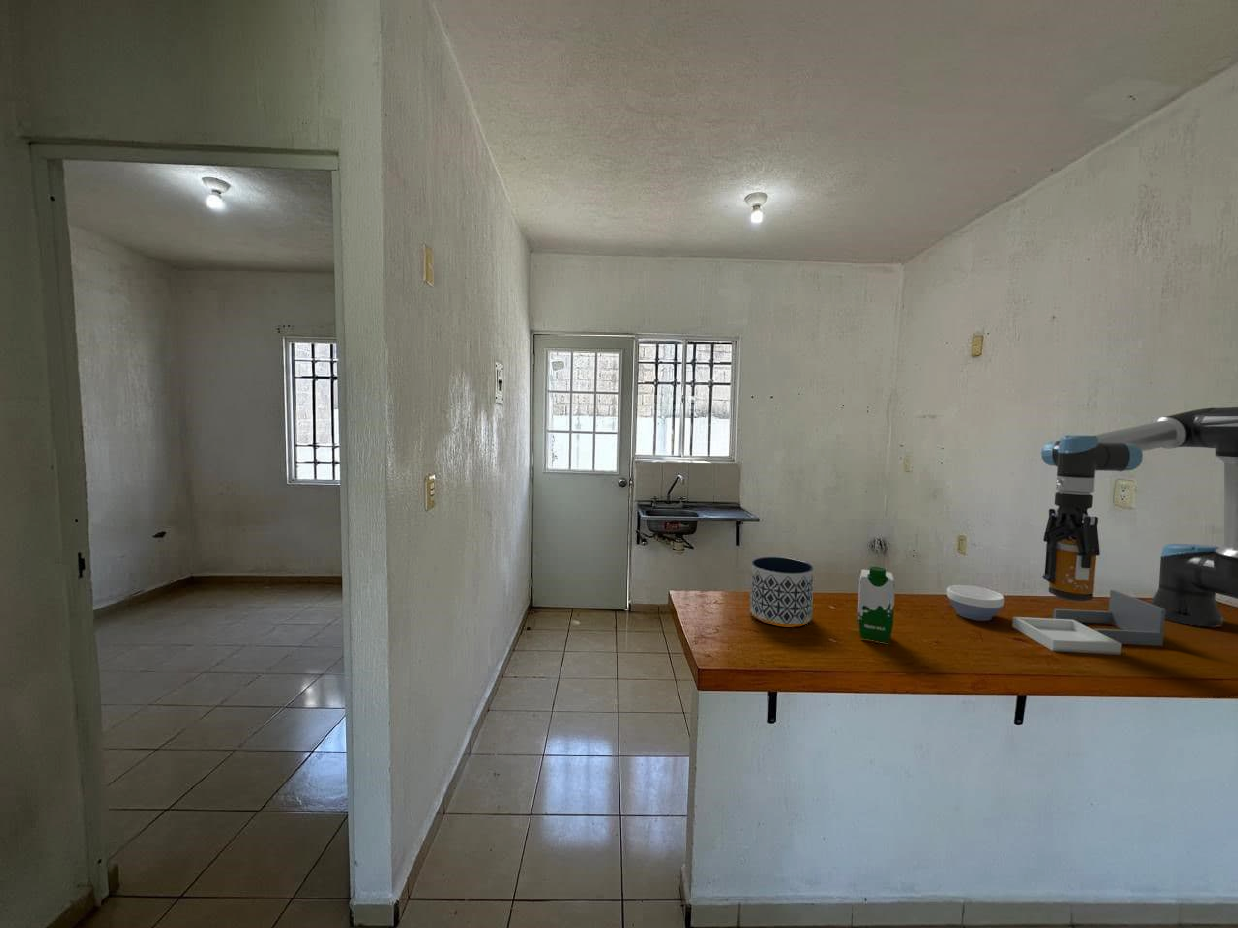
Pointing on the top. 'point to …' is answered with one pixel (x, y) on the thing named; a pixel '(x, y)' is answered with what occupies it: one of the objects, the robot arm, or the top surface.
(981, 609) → the bowl
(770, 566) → the planter
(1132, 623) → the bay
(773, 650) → the top surface
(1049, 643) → the tray
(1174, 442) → the robot arm
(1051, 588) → the canister
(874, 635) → the milk carton
